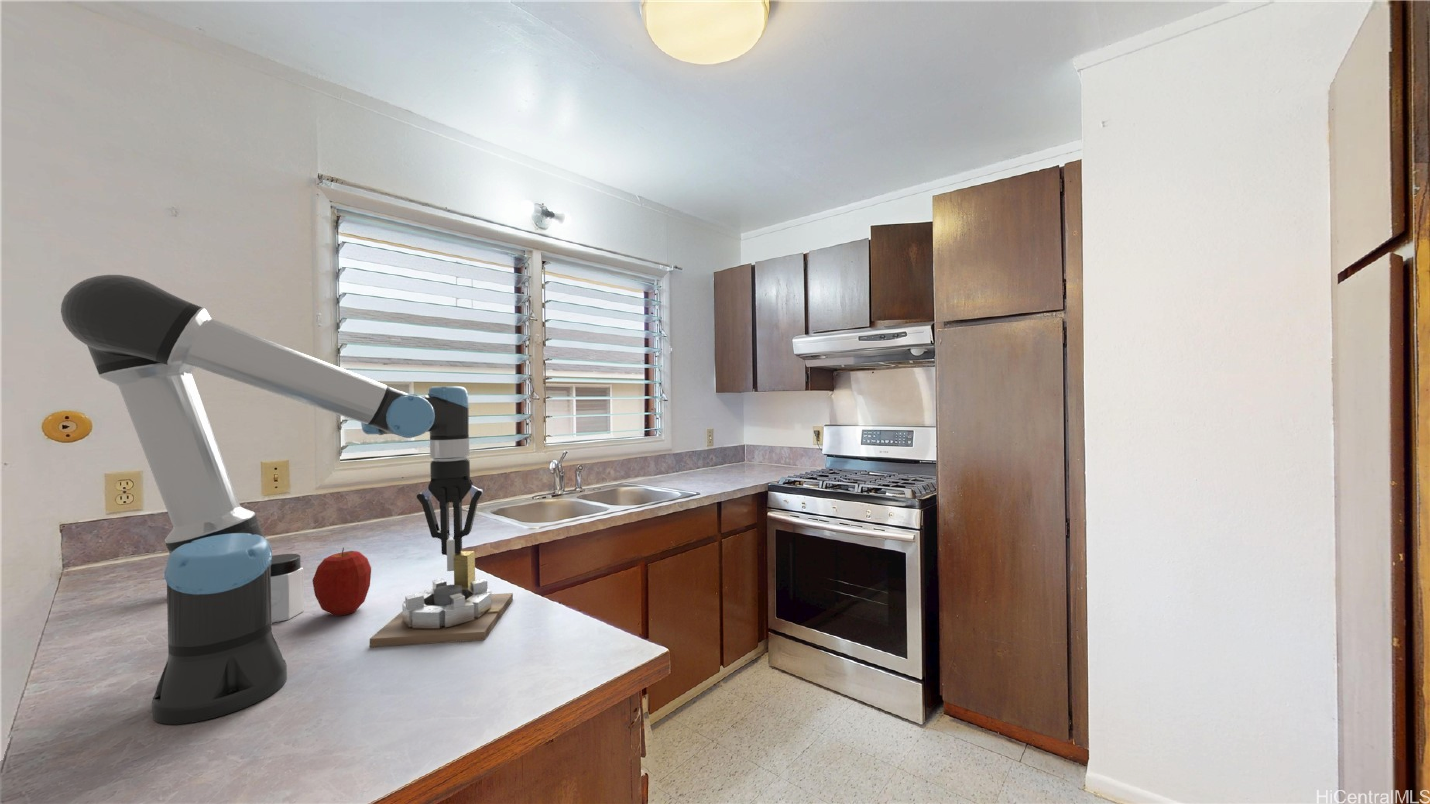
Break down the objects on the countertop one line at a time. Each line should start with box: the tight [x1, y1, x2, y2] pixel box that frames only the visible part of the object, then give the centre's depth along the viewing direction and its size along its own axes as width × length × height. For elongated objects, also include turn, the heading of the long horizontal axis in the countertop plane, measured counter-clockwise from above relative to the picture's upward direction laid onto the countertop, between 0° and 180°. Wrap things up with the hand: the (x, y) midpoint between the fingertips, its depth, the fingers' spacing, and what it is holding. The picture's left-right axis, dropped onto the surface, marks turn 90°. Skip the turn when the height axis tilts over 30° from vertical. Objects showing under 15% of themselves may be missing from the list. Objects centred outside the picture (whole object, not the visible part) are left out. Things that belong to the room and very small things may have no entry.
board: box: [369, 584, 514, 648], centre depth 109 cm, size 20×20×6 cm
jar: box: [271, 553, 305, 624], centre depth 112 cm, size 9×8×12 cm
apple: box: [312, 547, 372, 617], centre depth 114 cm, size 10×10×14 cm
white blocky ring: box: [402, 550, 492, 628], centre depth 109 cm, size 16×15×10 cm
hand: (452, 568), depth 115 cm, fingers closed
